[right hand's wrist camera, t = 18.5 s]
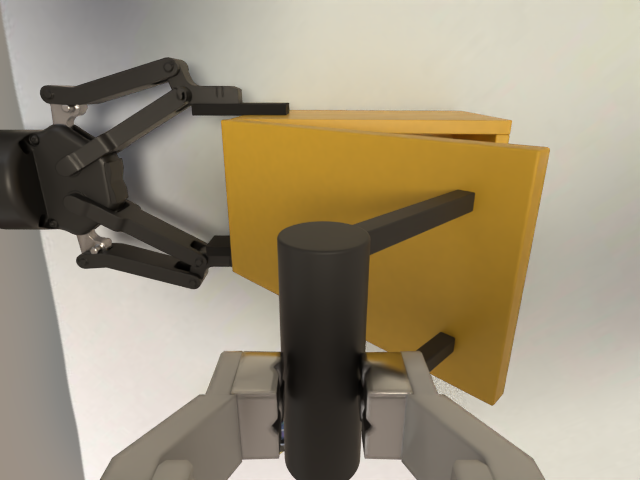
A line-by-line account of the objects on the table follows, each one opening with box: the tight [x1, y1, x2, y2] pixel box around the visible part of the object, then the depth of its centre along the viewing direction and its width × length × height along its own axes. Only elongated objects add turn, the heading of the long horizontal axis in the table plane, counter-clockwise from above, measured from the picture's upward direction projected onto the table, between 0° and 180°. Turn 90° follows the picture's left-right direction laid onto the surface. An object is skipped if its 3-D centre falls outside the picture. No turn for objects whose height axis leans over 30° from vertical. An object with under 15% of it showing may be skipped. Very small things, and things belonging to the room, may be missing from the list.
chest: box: [232, 110, 512, 144], centre depth 32 cm, size 17×10×11 cm, turn 90°
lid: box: [221, 119, 550, 480], centre depth 18 cm, size 18×10×9 cm
